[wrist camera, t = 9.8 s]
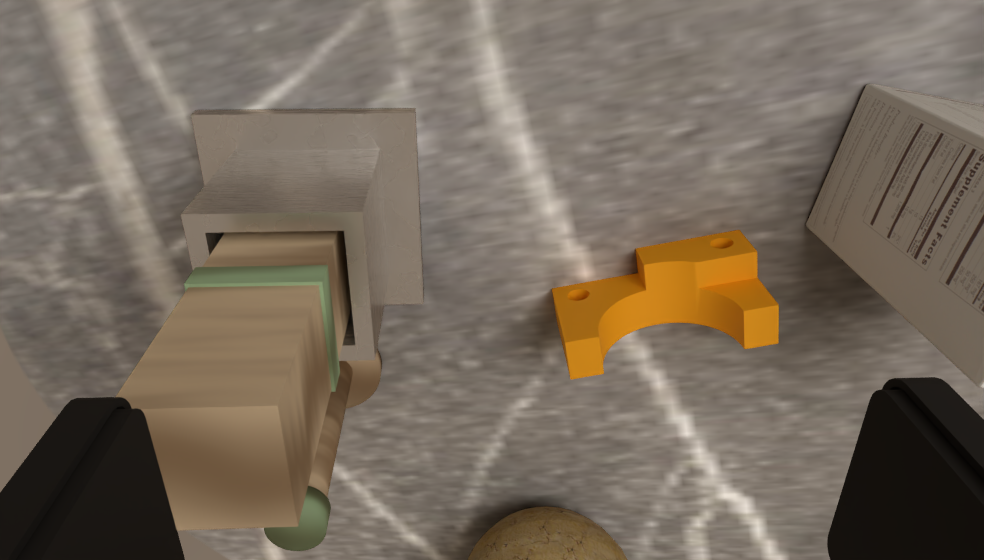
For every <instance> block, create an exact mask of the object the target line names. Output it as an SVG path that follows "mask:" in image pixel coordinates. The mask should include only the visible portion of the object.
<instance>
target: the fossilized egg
mask: <svg viewBox="0 0 984 560" xmlns="http://www.w3.org/2000/svg"><path fill="white" fill-rule="evenodd" d="M468 560H627V558H626V556H625V554H624V553H623V551H622V549H621V548H620V547H619V545H618V544H617V543H616V542H615V541H614V540H613V539H612V538H611V537H610V535H609V534H608V533H607V532H606V531H605V530H604V529H603V528H602V527H600V526H599V525H597V524H596V523H595V522H593V521H591V520H590V519H588V518H586V517H584V516H582V515H580V514H578V513H576V512H573V511H571V510H567V509H563V508H559V507H534V508H529V509H524V510H521V511H518V512H515V513H512V514H510V515H508V516H507V517H505V518H503V519H501V520H500V521H499V522H497V523H496V524H495V525H494V526H493V527H491V528H490V529H489V530H488V531H487V532H486V533H485V534H484V535H483V536H482V537H481V539H480V540H479V541H478V542H477V543H476V545H475V547H474V548H473V550H472V552H471V554H470V556H469V558H468Z"/></svg>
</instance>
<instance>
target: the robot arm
mask: <svg viewBox="0 0 984 560" xmlns="http://www.w3.org/2000/svg"><path fill="white" fill-rule="evenodd" d="M828 553H829V557H830V560H984V420H983V419H982V418H981V417H980V416H979V415H978V414H977V413H976V412H975V411H974V410H973V409H972V408H971V407H970V406H969V405H968V404H967V403H966V402H965V401H964V400H963V399H962V398H961V397H960V396H959V395H958V394H957V393H956V392H955V391H954V390H953V389H952V388H951V387H950V386H949V385H948V384H947V383H946V382H945V381H943V380H942V379H939V378H935V377H929V378H894V379H891V380H889V381H887V382H886V383H885V384H884V386H883V389H882V390H878V391H875V392H874V393H873V394H872V397H871V399H870V402H869V405H868V408H867V411H866V414H865V418H864V421H863V424H862V427H861V431H860V434H859V437H858V440H857V444H856V447H855V450H854V453H853V457H852V460H851V463H850V466H849V470H848V473H847V476H846V479H845V483H844V486H843V489H842V492H841V495H840V499H839V502H838V505H837V508H836V512H835V515H834V518H833V521H832V525H831V528H830V531H829V534H828ZM0 560H185V559H184V554H183V551H182V547H181V543H180V540H179V536H178V532H177V529H176V525H175V522H174V518H173V514H172V511H171V507H170V504H169V500H168V496H167V493H166V489H165V486H164V482H163V478H162V475H161V471H160V467H159V464H158V460H157V457H156V453H155V449H154V446H153V442H152V439H151V435H150V431H149V428H148V424H147V420H146V417H145V415H144V413H143V411H142V410H141V409H138V408H134V409H132V408H131V406H130V403H129V402H128V401H127V400H126V399H125V398H122V397H106V398H76V399H73V400H71V401H70V402H69V403H68V404H67V405H66V406H65V407H64V409H63V410H62V411H61V413H60V414H59V415H58V417H57V418H56V419H55V421H54V422H53V423H52V425H51V426H50V427H49V429H48V430H47V431H46V433H45V434H44V435H43V437H42V438H41V439H40V440H39V442H38V443H37V444H36V446H35V447H34V449H33V450H32V451H31V453H30V454H29V455H28V457H27V458H26V459H25V460H24V462H23V463H22V465H21V466H20V467H19V468H18V470H17V471H16V473H15V474H14V475H13V476H12V478H11V479H10V481H9V482H8V483H7V484H6V486H5V487H4V488H3V490H2V491H1V492H0Z"/></svg>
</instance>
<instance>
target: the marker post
mask: <svg viewBox="0 0 984 560" xmlns="http://www.w3.org/2000/svg"><path fill="white" fill-rule="evenodd" d="M339 367H340V374H339V378H338V383H337V387H336V391H335V392H331V394H330V398H329V402H328V406H327V410H326V414H325V418H324V422H323V426H322V430H321V434H320V439H319V443H318V447H317V451H316V455H315V459H314V463H313V467H312V471H311V475H310V479H309V484H308V488H307V492H306V496H305V500H304V504H303V508H302V512H301V516H300V520H299V524H298V527H268V528H264V531H265V534H266V536H267V537H268V539H269V540H270V541H271V542H272V543H273V544H275V545H276V546H278V547H281V548H283V549H286V550H291V551H303V550H308V549H311V548H314V547H315V546H317V545H319V544H320V543H321V542H322V541H323V539H324V537H325V535H326V530H327V525H328V520H329V515H330V509H331V506H330V502H329V500H328V498H327V495H328V491H329V486H330V481H331V476H332V471H333V467H334V462H335V457H336V452H337V447H338V443H339V438H340V433H341V428H342V423H343V419H344V414H345V409H346V408H350V407H353V406H356V405H359V404H361V403H362V402H364V401H366V400H367V399H368V398H369V397H370V396H371V395H372V394H373V393H374V392H375V390H376V389H377V387H378V384H379V381H380V376H381V369H382V361H381V356H380V353H379V351H378V349H377V352H376V358H375V360H359V361H339Z"/></svg>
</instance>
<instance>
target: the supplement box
mask: <svg viewBox="0 0 984 560" xmlns="http://www.w3.org/2000/svg"><path fill="white" fill-rule="evenodd" d="M806 226H807V228H808V229H809V230H811V231H812V232H813V233H814V234H815V235H816V236H817V237H818V238H819V239H820V240H821V241H822V242H824V243H825V244H826V245H827V246H828V247H829V248H830V249H831V250H832V251H833V252H834V253H835V254H836V255H838V256H839V257H840V258H841V259H842V260H843V261H844V262H845V263H846V264H847V265H848V266H849V267H850V268H851V269H853V270H854V271H855V272H856V273H857V274H858V275H859V276H860V277H861V278H862V279H863V280H864V281H865V282H867V283H868V284H869V285H870V286H871V287H872V288H873V289H874V290H875V291H876V292H877V293H878V294H880V295H881V296H882V297H883V298H884V299H885V300H886V301H887V302H888V303H889V304H890V305H891V306H892V307H893V308H894V309H896V310H897V311H898V312H899V313H900V314H901V315H902V316H903V317H904V318H905V319H906V320H907V321H908V322H909V323H911V324H912V325H913V326H914V327H915V328H916V329H917V330H918V331H919V332H920V333H921V334H922V335H923V336H925V337H926V338H927V339H928V340H929V341H930V342H931V343H932V344H933V345H934V346H935V347H936V348H937V349H938V350H939V351H941V352H942V353H943V354H944V355H945V356H946V357H947V358H948V359H949V360H950V361H951V362H952V363H953V364H954V365H955V366H956V367H958V368H959V369H960V370H961V371H962V372H963V373H964V374H965V375H966V376H967V377H968V378H969V379H970V380H971V381H972V382H973V383H975V384H976V385H977V386H978V387H981V388H984V105H981V104H975V103H970V102H965V101H959V100H954V99H948V98H942V97H937V96H932V95H927V94H922V93H917V92H912V91H907V90H902V89H897V88H892V87H887V86H882V85H876V84H867V85H866V87H865V89H864V91H863V93H862V96H861V98H860V100H859V103H858V105H857V107H856V110H855V112H854V114H853V117H852V119H851V121H850V124H849V126H848V128H847V130H846V133H845V135H844V137H843V140H842V142H841V144H840V147H839V149H838V151H837V154H836V156H835V158H834V161H833V163H832V165H831V168H830V170H829V172H828V175H827V177H826V179H825V182H824V184H823V186H822V189H821V191H820V193H819V196H818V198H817V200H816V203H815V205H814V207H813V209H812V212H811V214H810V216H809V218H808V221H807V223H806Z"/></svg>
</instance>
